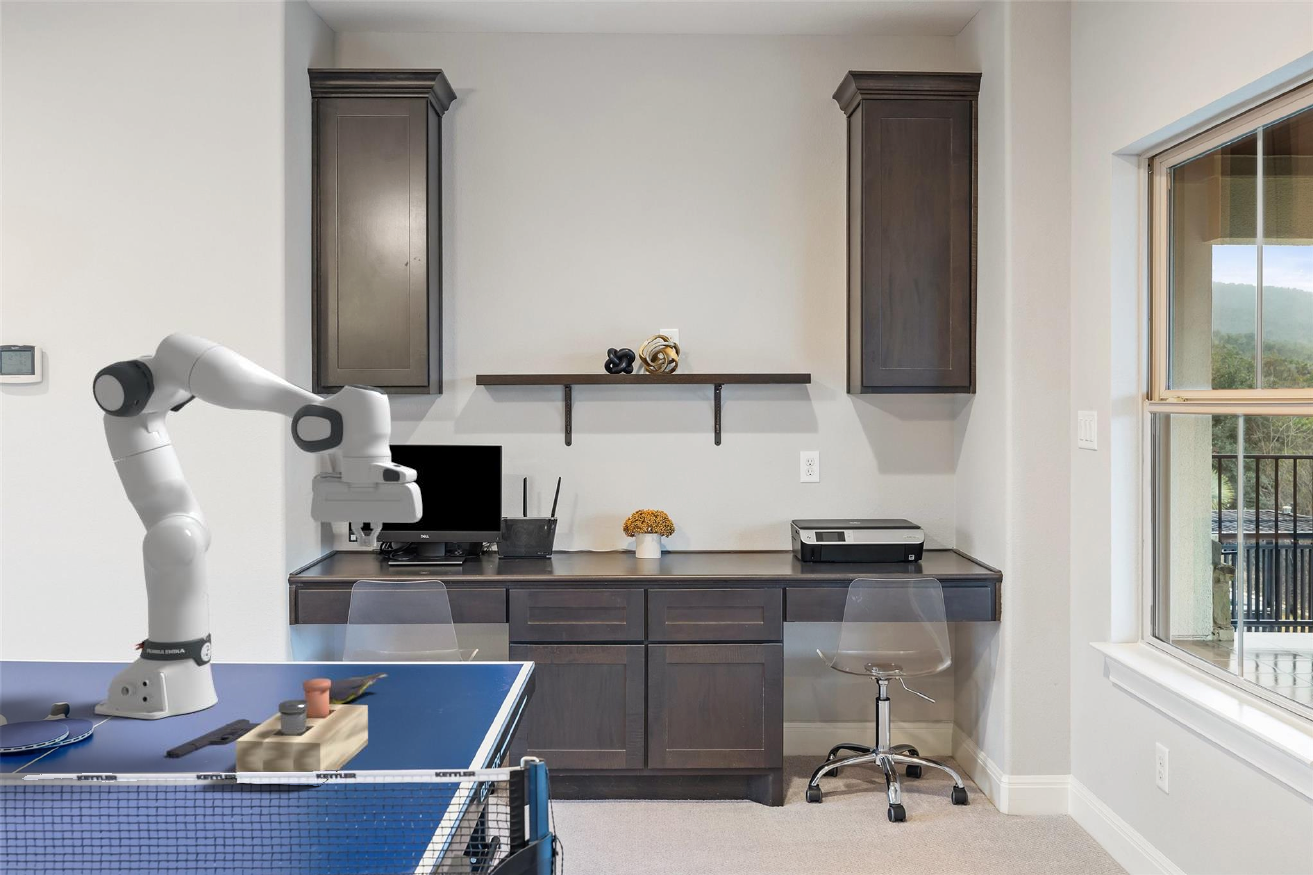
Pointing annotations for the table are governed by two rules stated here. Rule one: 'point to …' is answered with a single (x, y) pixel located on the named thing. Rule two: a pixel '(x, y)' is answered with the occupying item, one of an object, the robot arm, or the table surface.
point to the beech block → (305, 743)
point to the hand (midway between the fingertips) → (366, 546)
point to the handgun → (215, 737)
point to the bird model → (350, 687)
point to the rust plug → (317, 697)
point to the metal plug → (293, 717)
